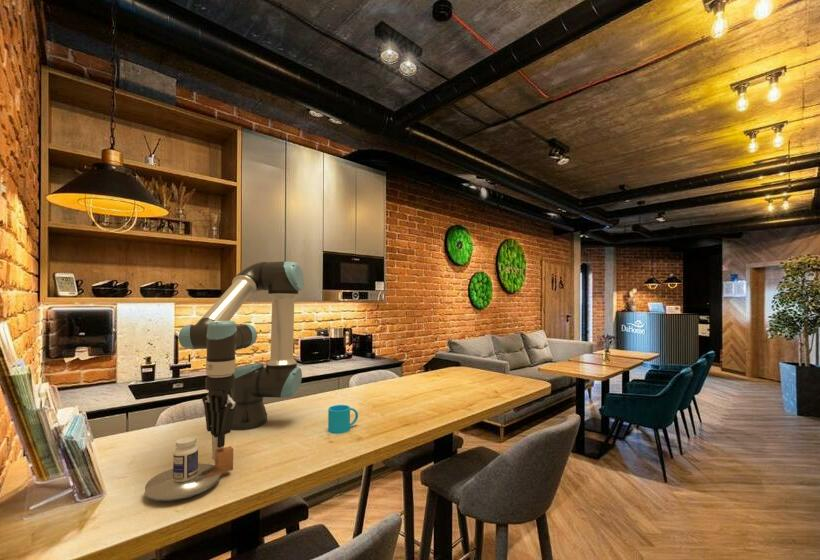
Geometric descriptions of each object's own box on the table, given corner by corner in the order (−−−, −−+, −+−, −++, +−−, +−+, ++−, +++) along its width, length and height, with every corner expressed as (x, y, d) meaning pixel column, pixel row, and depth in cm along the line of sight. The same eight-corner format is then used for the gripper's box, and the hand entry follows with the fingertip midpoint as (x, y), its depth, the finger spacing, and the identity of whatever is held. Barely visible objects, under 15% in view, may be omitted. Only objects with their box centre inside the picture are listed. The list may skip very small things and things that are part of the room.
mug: (333, 435, 136) (333, 412, 136) (324, 428, 142) (324, 407, 143) (362, 428, 143) (362, 406, 143) (353, 422, 149) (353, 402, 150)
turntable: (138, 484, 98) (138, 461, 98) (220, 459, 113) (220, 439, 113) (154, 509, 87) (154, 483, 87) (243, 478, 101) (243, 455, 102)
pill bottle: (196, 470, 103) (197, 433, 103) (199, 478, 98) (199, 440, 99) (172, 476, 100) (173, 438, 100) (173, 485, 95) (174, 445, 95)
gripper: (194, 374, 107) (191, 457, 106) (222, 380, 101) (220, 468, 100) (218, 370, 114) (215, 448, 113) (246, 374, 108) (244, 457, 107)
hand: (217, 457), depth 107 cm, fingers closed
